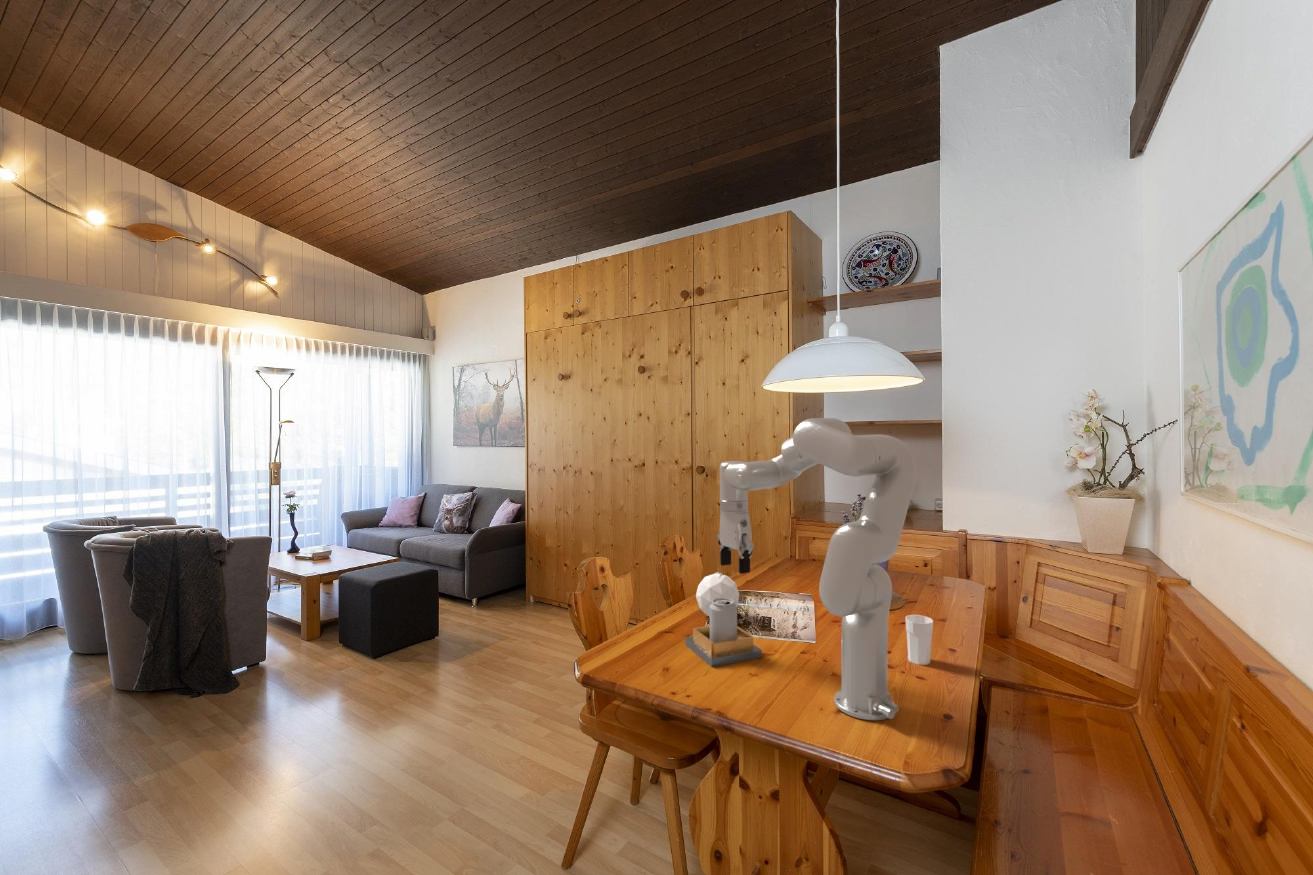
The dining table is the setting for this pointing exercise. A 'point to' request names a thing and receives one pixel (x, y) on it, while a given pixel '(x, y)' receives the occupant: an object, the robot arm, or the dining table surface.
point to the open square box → (722, 647)
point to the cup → (919, 638)
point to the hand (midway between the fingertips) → (734, 568)
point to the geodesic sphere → (715, 591)
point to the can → (723, 620)
